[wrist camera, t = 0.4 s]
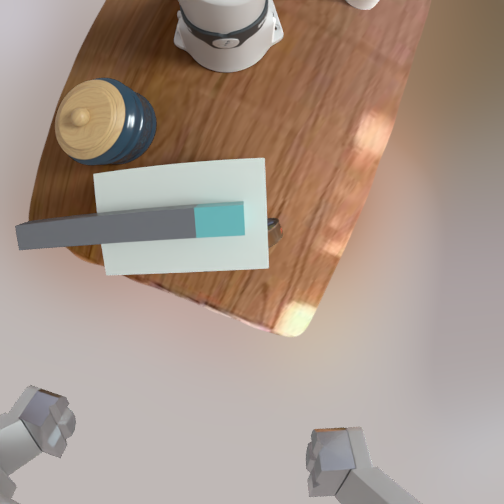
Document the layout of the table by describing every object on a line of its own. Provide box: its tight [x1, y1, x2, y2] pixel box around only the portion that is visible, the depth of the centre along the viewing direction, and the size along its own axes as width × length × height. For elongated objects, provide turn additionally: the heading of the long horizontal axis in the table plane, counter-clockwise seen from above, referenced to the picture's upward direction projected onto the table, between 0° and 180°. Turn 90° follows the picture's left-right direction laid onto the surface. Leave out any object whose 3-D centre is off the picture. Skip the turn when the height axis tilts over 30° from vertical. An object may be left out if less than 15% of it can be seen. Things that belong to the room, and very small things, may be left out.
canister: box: [55, 78, 157, 165], centre depth 41 cm, size 13×13×18 cm
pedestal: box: [93, 158, 269, 275], centre depth 41 cm, size 10×16×26 cm, turn 93°
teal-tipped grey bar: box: [15, 201, 245, 250], centre depth 27 cm, size 2×23×2 cm, turn 93°
